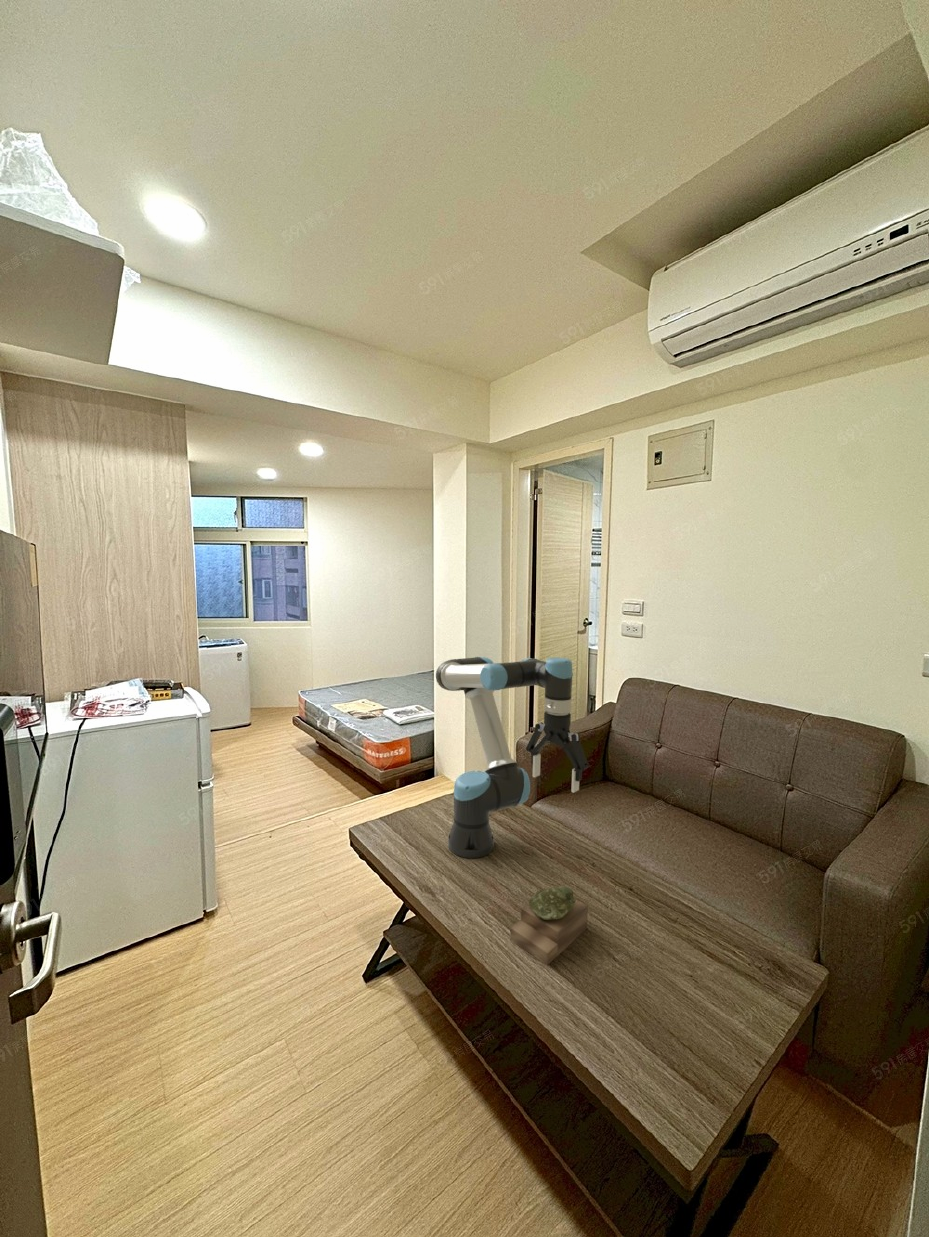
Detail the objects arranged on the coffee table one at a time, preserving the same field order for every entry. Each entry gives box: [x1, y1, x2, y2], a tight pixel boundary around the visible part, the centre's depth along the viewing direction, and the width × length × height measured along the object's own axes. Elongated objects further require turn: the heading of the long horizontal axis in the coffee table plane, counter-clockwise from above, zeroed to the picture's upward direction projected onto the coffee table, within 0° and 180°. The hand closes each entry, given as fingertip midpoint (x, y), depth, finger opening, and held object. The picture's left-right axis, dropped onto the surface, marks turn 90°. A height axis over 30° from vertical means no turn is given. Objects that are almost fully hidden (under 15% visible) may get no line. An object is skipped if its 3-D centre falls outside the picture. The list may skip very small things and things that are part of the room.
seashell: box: [527, 885, 576, 920], centre depth 120 cm, size 10×7×10 cm
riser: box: [509, 885, 589, 966], centre depth 119 cm, size 11×17×6 cm, turn 134°
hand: (555, 783), depth 140 cm, fingers open, 13 cm apart
